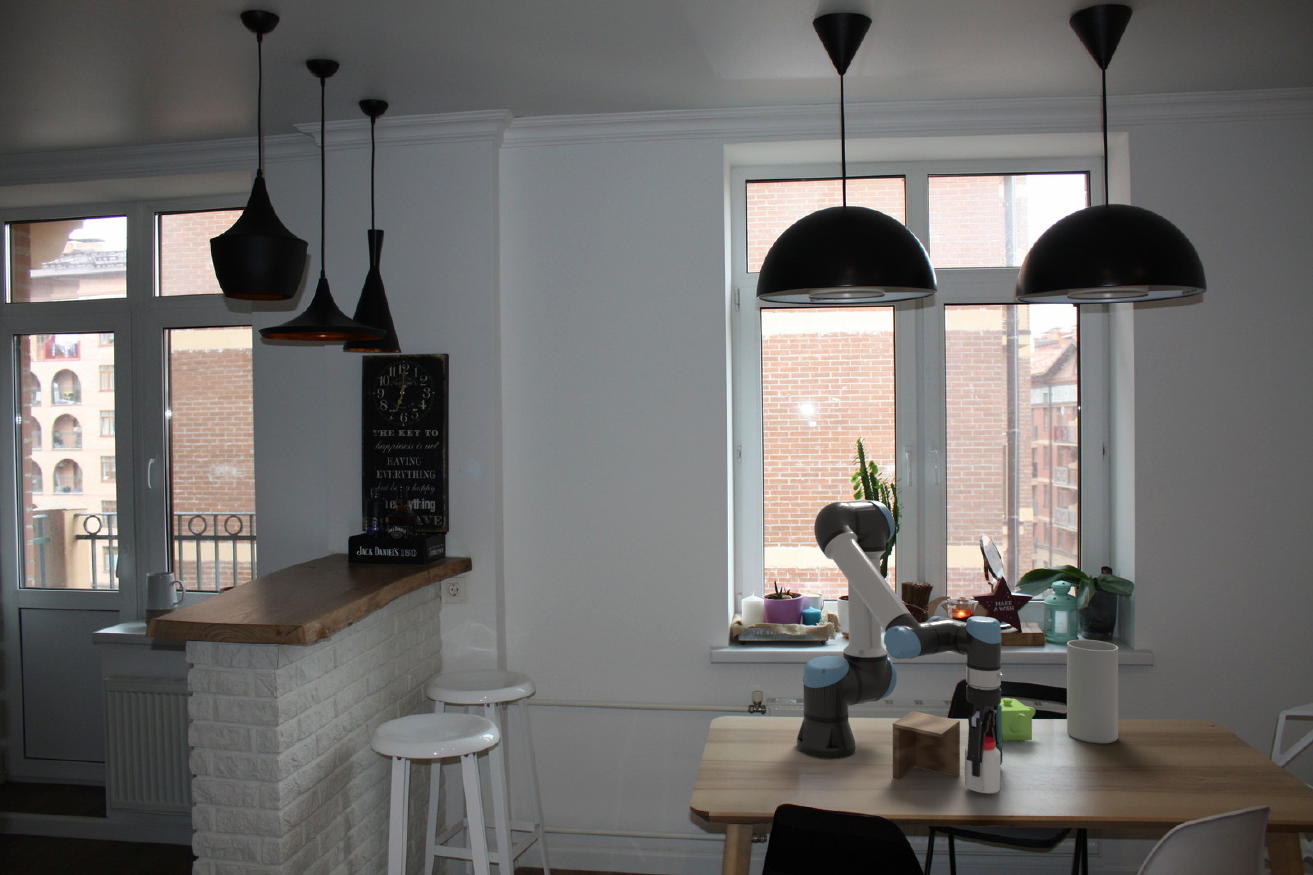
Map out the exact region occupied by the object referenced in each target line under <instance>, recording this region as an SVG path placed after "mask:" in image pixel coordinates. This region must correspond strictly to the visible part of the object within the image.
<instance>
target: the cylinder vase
mask: <svg viewBox="0 0 1313 875" xmlns="http://www.w3.org/2000/svg"><path fill="white" fill-rule="evenodd" d="M1066 685H1067V686H1066V732H1067V734H1068V735H1069V736H1070V737H1072V738H1073V739H1076V740H1078V741H1081V742H1086V743H1091V744H1111V743H1115V742H1116V741H1117V740H1118V738H1119V646H1117V645H1115V644H1113V643H1110V642H1107V641H1101V640H1094V639H1073V640H1068V641H1067V643H1066Z"/></svg>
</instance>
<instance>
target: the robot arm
mask: <svg viewBox="0 0 1313 875" xmlns="http://www.w3.org/2000/svg"><path fill="white" fill-rule="evenodd" d="M895 525H896V524H895V519H894V515H893V513H892V512H891V511H890V509H888V506H886V505H885V503H883V502H880V501H877V500H867V499H866V500H865V499H863V500H855V501H854V500H852V501H836V502H832V503H829V504H828V505H825V506H824V507H822V508H821V510H820V511H819V512H818V514H817V515H816V517H815V521H814V526H813V529H814V531H813V532H814V536H815V540H816V543H817V545H818V547H819V549H820V551H821V552H822V554H824V556H825V558H827V559H829V560H833V563H835V564H836V566H837V567H838V568H839V570H840V571H841V573H842V574H843V575H844V577H845V579H847V586H848V587H847V592H848V593H847V594H848V595H847V596H848V601H847V602H848V603H847V605H848V608H847V609H848V611H847V612H848V644H847V646H846V647H844V648H843V650H842V651H843V652H842V653H843V656H840V655H821V656H816V657H813V658H812V659H810V660H808V661H807V662H806V663H805V665H804V667H803V677H802V683H803V686H802V687H803V719H802V722H801V725H800V728H799V731H798V734H797V737H796V748H797V750H798V751H799V752H801V753H802V754H803V755H807V756H809V757H813V758H818V759H825V760H827V759H829V760H831V759H832V760H833V759H844V758H848V757H851V756H852V755H853V754H855V753H856V741H855V740H856V739H855V737H854V733H853V731H852V728H851V725H850V720H849V706H854V705H859V704H864V703H870V702H871V703H872V702H873V703H874V702H877V701H880V700H882V699H886V698H887V697H889V696H890V695H891V694H893V692H894V690H895V689H896V685H897V682H898V672H897V668H896V666H895V665H894V661H893V660H892V659H891V658H890V657H892V658H894V659H897V660H910V659H911V660H912V659H915V658H918V657H919V658H920V657H923V656H929V655H930V656H931V655H937V654H942V653H949V652H951V653H954V654H958V655H962V656H966V657H965V658H966V660H965V661H966V667H965V668H966V670H965V671H966V672H965V674H966V675H965V676H966V677H965V682H966V683H967V685H966V686H965V687H966V692H965V693H966V700H967V702H968V703H970V704H972V705H973V709H972V713H971V715H969V716H968V718H967V720H968V734H967V735H968V736H967V745H968V752H967V760H969V761H971V789H975V790H979V791H984V762H982V759H983V750H984V742H985V736H988V737H991V738H993V739H994V740H995V747H996V748H997V749H998V750H1000V747H999V746H996V745H999V733H998V705H999V704H1000V703H1001V699H1002V689H1001V687H1000V686H1001V685H1002V683H1001V681H1002V680H1001V679H1002V678H1004V674H1003V673H1002V672H1001V671H1002V663H1001V661H1002V660H1001V659H1002V658H1001V657H1002V656H1001V655H1002V640H1003V637H1002V633H1001V632H1002V630H1001V623H1000V621H999V620H998V619H996V618H994V617H989V616H987V617H986V616H983V615H982V616H981V615H980V616H979V615H978V616H970V617H968V618H967V619H966V622H965V621H961V620H956V619H954V618H953V619H952V618H950V617H948V616H939V615H933V616H931V617H929V618H928V620H926V621H925V622H918V620H917V619H916V618H915V617H914V616H913V615H912V613H911V612H910V611H909V610H908V608H907V607H906V605H905V604H904V602H903V601H902V600H901V598H900V597H899V596H898V594H896V592H895V591H894V590H893V588H892V587H891V585H890V584H889V582H888V581H887V580H886V579H885V577H884V576H883V575H882V574H881V557H882V555H884V553H885V552H886V551H887V550H886V549H887V545H886V544H887V543H888V542H889V541H890V540H891V539H892V537H893V536H894V534H895V530H896V526H895ZM882 629H883V630H884V632H885V634H884V635H883V636H884V637H883V643H884V645H885V648H884V646H882ZM888 654H889V655H890V657H889V656H888ZM981 727H982V728H981Z"/></svg>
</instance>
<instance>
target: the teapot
mask: <svg viewBox="0 0 1313 875" xmlns="http://www.w3.org/2000/svg"><path fill="white" fill-rule="evenodd" d="M1000 705H1001V706H1002V734H1003V735H1002V736H1003V737H1002V739H1003V740H1002V741H1003V743H1007V741H1008V742H1009V741H1016V742H1020V743H1025V741H1032V740H1033V717H1034V716H1035V715H1036V709H1035V708H1034V707H1032V706H1027V705H1024V704H1023V703H1021V702H1020V701H1019V700H1017V699H1016V698H1009V697H1004V698H1001V703H1000Z"/></svg>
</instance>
